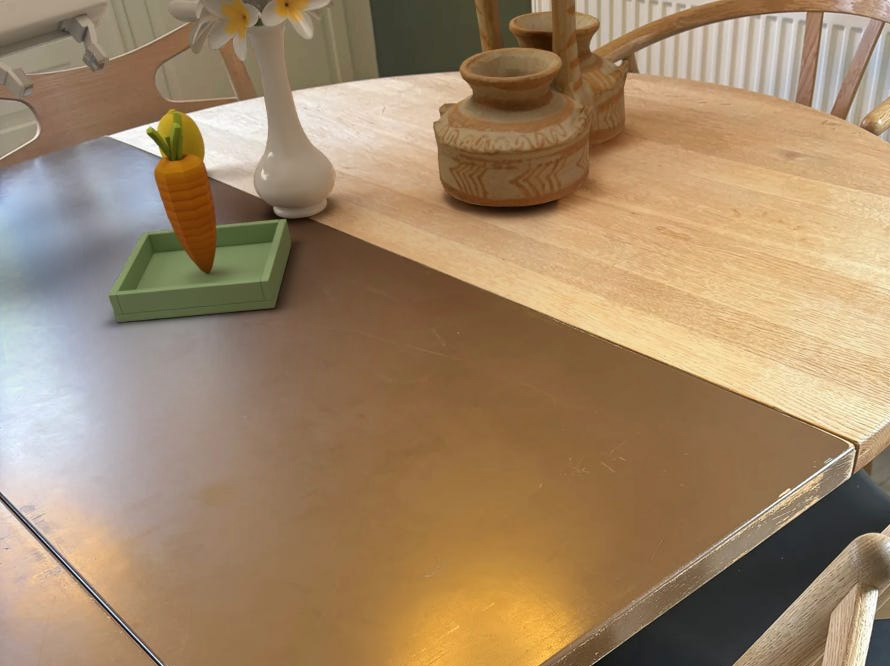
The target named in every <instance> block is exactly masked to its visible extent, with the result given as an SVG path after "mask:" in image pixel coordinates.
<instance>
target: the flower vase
mask: <svg viewBox="0 0 890 666" xmlns="http://www.w3.org/2000/svg"><path fill="white" fill-rule="evenodd" d="M334 7H335V5H334V1H333V0H172V1H170V2H169V3H168V4H167V11H168V13H169V14H170V16H171V17H173V19H175V20H177V21H180V22H183V23H193V24H192V26H191V28H190V31H189V42H188V43H189V46H190V50H191V52H192V53H193V54H194V55H199V54H200V53H202V51H203V49H204V47H205V46H206V45H205V44H206V42H207V46H208V47H209V48H210V50H212V51H217V50H221V48H223V49H224V48H225V46H226V45H227V43H229V41H232V47H233V50H234V54H235V55H236V57H237V59H238V60H239V61H240V62H245V61H247V58H248V56H249V45H248V42H249V44H250V46H251V49H252V52H253V55H254V58H255V61H256V64H257V65H256V66H257V68H258V72H259V78H260V83H261V88H262V94H263V100H264V105H265V112H266V120H267V138H266V145H265V149H264V152H263V154H262V155H261V157H260V159H259V160H258V162H257V164H256V167H255V170H254V174H253V187H254V189H255V192H256V194H257V196H258V197H259V198H260V199H261V200H262V201H263V202H264V203H266V204H268V205H269V206H271V207H272V209H273V213H274V214H275V215H276V216H278V217H280V218H282V219H292V220H293V219H303V218H308V217H312V216H315V215H317V214H319V213H322V212H323V211H324V210H325V209H326V208H327V205H328V201H327V198H328V197H329V196H330V194H331V193H332V191H333V189H334V187H335V184H336V180H337V173H336V170H335V167H334V165H333V163H332V162H331V160H330V158H329V157H328V156H327V155H326V154H325V153H324V152H323V151H322V150H320V149H319V148H318V147H317V146H316V145H314V144H313V143H312V142H311V140H310V139H309V137H308V136H307V134H306V132H305V130H304V128H303V126H302V124H301V120H300V118H299V114H298V112H297V111H298V110H297V107H296V104H295V99H294V94H293V91H292V86H291V82H290V77H289V72H288V66H287V60H286V49H285V48H286V46H285V30H286V27H287V23H286V21H287V20H288V22H289V23H290V25H291V26H292V28H293V29H294V31H295V32H296V33H297V35H299V37H301V38H303V39H304V40H307V41H309V40H312V39H313V38H314V36H315V27H314V23H313V21H312V19H311V17H310V15H311V16H312V17H313V18H315V19H316V20H318V21H322V15H321V12H320V11H319V10H320V9H323V8H324V9H325V8H326V9H333V8H334ZM308 13H309V14H310V15H309V14H308ZM219 19H220V20H219ZM248 40H249V41H248Z"/></svg>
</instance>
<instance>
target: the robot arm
mask: <svg viewBox="0 0 890 666" xmlns="http://www.w3.org/2000/svg"><path fill="white" fill-rule="evenodd" d="M107 9H108V0H0V59H2V58H5V57H9V56H12V55H16V54H19V53H22V52H26V51H29V50H32V49H35V48H39V47H42V46H44V45H48V44H51V43H55V42H58V41H61V40H63V39H67V38H70V37H72V38H73V40H75V41H76V43H77V44H81V43H82V44H83V46H84V53H83V55H82V59H81V61H82V62H83V63H84V64H85V65H86V66H87V67H88V68H89V70H90V71H91V72H92V73H94V74H95V73H97V72H101V71H104V70H106V69H107V68H108V66H109V62H110V57H109V55H108V53H106V51H105V50H104V48H102V46H101V45H100V44H99V39H98V35H97V31H96V29H99V28H100V27H101V25H102V23H103V21H104V19H105V16H106V12H107ZM0 85H1V86H4V87H5V89H7V91H9V93H10V94H11V95H12V96H13V97H14V98H15V99H16V100H19V99H22V98H25V97H28V96H30V95H32V90H33V88H34V83H33V81H32V80H31V78H30V77H28V76H27V75H26V72H25V71H24V70H23V69H22V68H21V67H18V68H15V69H13V68H12V67H10V66H9V65H8V64H6V63H4V62H2V61H1V60H0Z"/></svg>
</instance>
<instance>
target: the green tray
mask: <svg viewBox="0 0 890 666" xmlns="http://www.w3.org/2000/svg"><path fill="white" fill-rule="evenodd" d="M216 234H217V242H216V253H215V258H214V263H213V267H212V270H211V271H210V273H209V274H206V273H205V272H203V271H201V270H200V269H199V268H198V266H197V265H196V264H195V263H194V262H193V261H192V260H191V258H190V257H189V256H188V254H187V253H186V251H185V250H184V249H183V247H182V245H181V243H180V241H179V240H178V238H177V236H176V234H175V232H174V230H173V229H164V230H163V229H162V230H153V231H152V230H151V231H144V232H143V231H142V233H141V235H140V236H139V238H138V240H137V242H136V244H135V245H134V248H133V249H132V251H131V253H130V254H129V257H128V259H126V262H125V264H124V266H123V268H122V269H121V271H120V273H119V274H118V277H117V278H116V280H115V282H114V284H113V286H112V288H111V290H110V291H109V293H108V299H109V302H110V305H111V308H112V310H113V314H114V315H115V319H116V322H117V323H124V322H125V323H126V322H136V321H137V322H138V321H146V320H157V319H168V318H169V319H170V318H178V317H179V318H180V317H190V316H201V315H202V316H203V315H214V314H224V313H235V312H244V311H257V310H267V309H275V307H276V304H277V300H278V296H279V293H280V289H281V286H282V281H283V277H284V275H285V270H286V266H287V262H288V259H289V255H290V251H291V247H292V239H291V235H290V231H289V225H288V221H287V218H282V219H269V220H258V221H249V222H238V223H237V222H236V223H226V224H216Z"/></svg>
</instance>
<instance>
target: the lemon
mask: <svg viewBox="0 0 890 666" xmlns="http://www.w3.org/2000/svg"><path fill="white" fill-rule="evenodd" d="M173 112H178V113H180V114H181V116H182V133H183V134H184V137H183V143H182V153H188V154H191V155H195V156H198V157H199V158H201V159H202V160H203V161H205V154H206V149H205V141H204V138H203V135H202V132H201V130H200V128H199V126H198V125H197V123H196V121H194V119H193V118H192V117H190V115H189V114H186V113H184V112H183V111H182V112H181V111H178V110H176V109H175V108H170V109H169V110H168V111H167V113H166V114H164V115H163V116H162V117H161V119H159V122H158V123H157V124H158V125H157V127H156V131H157V132H158V133H159V134H160V136H161V137H162V138H163V140H164V141H165V143H166V145H167V142H166V140H165V138H164V137H165V135H168V136H169V137H170V135H171V128H172V124H173ZM167 146H168V145H167ZM168 148H169V147H168ZM158 150H159V153H160V155H161V157H162V158H164V157H167V156H166V155H165V154H164V152H163V151H162V150H161V149H160V147H159V146H158ZM169 150H170V149H169ZM162 158H161V159H162Z"/></svg>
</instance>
